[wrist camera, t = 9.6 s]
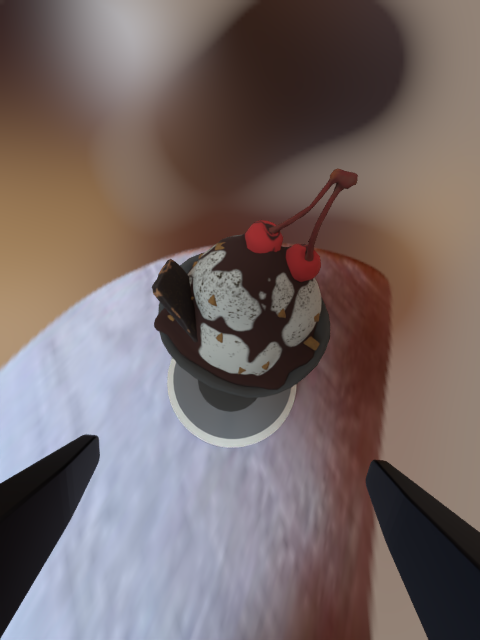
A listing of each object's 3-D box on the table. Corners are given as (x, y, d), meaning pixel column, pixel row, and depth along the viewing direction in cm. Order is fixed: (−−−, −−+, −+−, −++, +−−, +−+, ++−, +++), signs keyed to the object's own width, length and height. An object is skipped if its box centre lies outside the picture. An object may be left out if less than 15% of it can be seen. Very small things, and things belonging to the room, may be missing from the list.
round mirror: (306, 433, 19) (315, 431, 17) (174, 461, 17) (169, 462, 15) (274, 320, 23) (278, 310, 21) (168, 334, 22) (163, 324, 20)
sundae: (288, 364, 19) (454, 172, 6) (245, 445, 16) (386, 419, 3) (220, 322, 20) (230, 86, 7) (167, 390, 17) (18, 197, 4)
